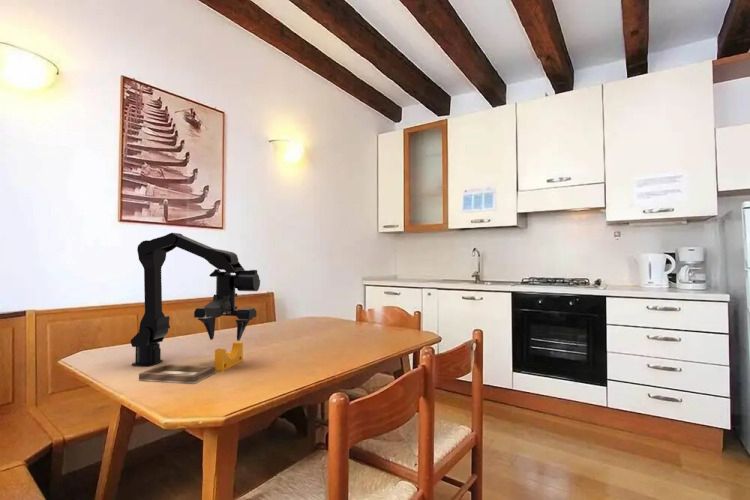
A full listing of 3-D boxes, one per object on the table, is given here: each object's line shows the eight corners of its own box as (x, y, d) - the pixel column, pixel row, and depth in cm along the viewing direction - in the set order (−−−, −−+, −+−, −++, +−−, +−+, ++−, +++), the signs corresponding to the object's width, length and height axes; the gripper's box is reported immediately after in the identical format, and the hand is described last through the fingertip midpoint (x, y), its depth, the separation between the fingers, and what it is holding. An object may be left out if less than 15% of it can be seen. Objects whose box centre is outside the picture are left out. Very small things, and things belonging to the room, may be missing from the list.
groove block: (138, 380, 108) (138, 373, 108) (163, 370, 118) (163, 364, 118) (194, 383, 106) (194, 376, 106) (215, 373, 116) (215, 366, 116)
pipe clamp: (230, 361, 130) (230, 341, 130) (242, 361, 129) (242, 342, 129) (209, 371, 118) (209, 349, 118) (222, 372, 117) (222, 350, 117)
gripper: (182, 292, 118) (182, 344, 117) (240, 293, 115) (239, 346, 114) (204, 289, 129) (203, 337, 128) (257, 290, 126) (257, 339, 125)
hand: (225, 340), depth 124 cm, fingers open, 9 cm apart
